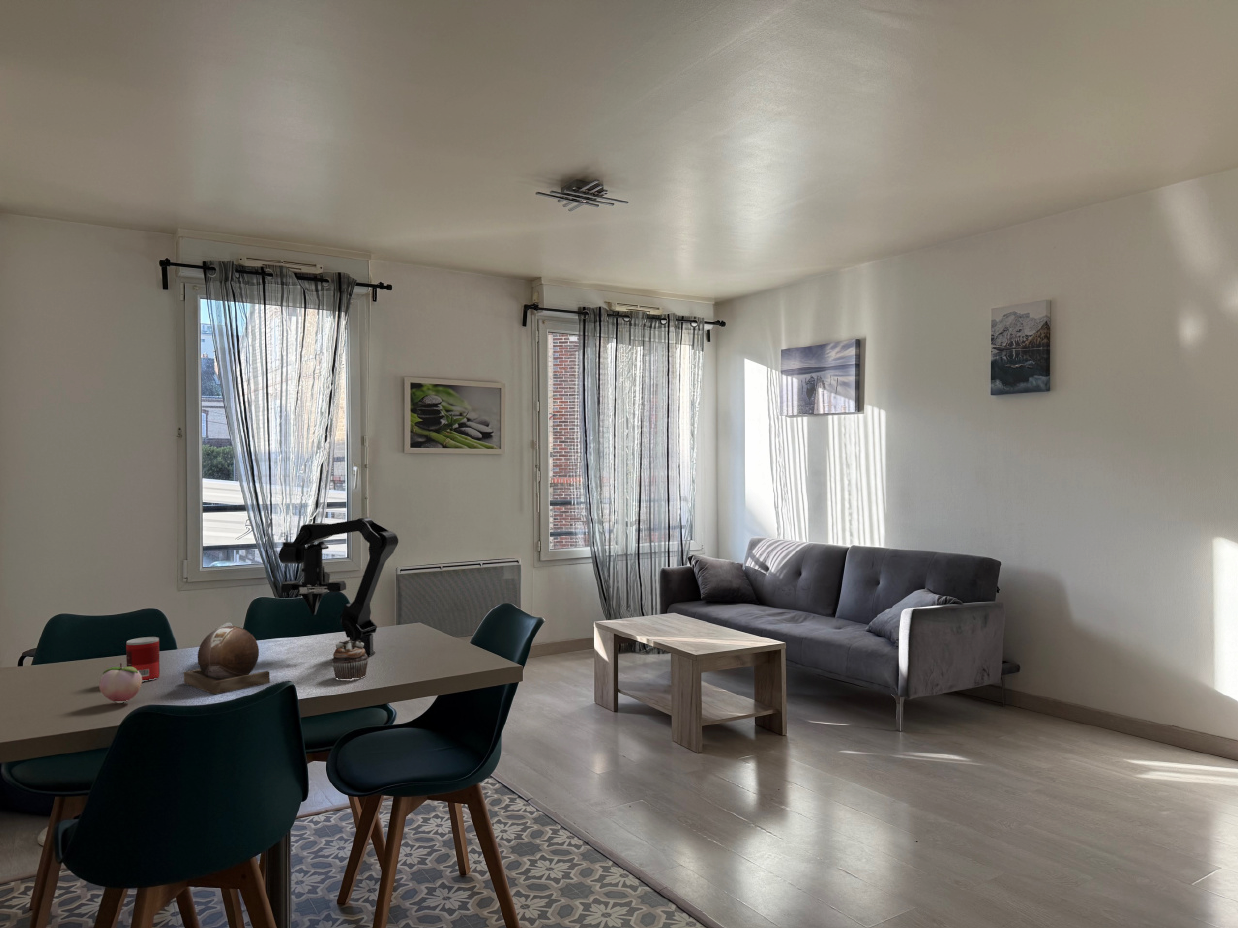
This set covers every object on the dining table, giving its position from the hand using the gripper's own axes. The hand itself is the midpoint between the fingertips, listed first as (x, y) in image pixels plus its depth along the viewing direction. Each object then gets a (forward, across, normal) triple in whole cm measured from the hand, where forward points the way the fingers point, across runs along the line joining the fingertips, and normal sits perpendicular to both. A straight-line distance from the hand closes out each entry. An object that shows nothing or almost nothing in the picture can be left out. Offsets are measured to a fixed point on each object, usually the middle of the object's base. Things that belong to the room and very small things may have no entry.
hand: (313, 614), depth 265 cm
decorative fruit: (+12, +27, +54) cm, 62 cm away
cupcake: (+12, -22, +31) cm, 40 cm away
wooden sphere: (+12, +10, +35) cm, 38 cm away
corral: (+12, +10, +35) cm, 38 cm away
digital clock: (+12, +23, +8) cm, 27 cm away
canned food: (+12, +36, +30) cm, 48 cm away
